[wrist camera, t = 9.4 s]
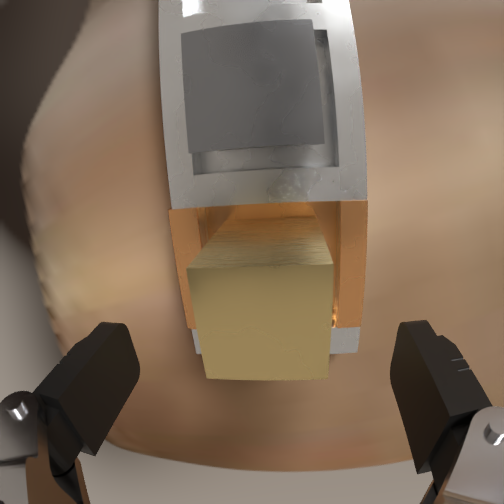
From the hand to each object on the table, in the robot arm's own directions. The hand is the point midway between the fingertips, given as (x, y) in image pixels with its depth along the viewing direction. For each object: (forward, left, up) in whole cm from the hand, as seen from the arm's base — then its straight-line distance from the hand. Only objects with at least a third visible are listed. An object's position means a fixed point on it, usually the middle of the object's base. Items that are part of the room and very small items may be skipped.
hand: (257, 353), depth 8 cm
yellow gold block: (0, 0, -8) cm, 8 cm away
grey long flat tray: (-8, 0, -9) cm, 12 cm away
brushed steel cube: (-8, 0, -8) cm, 11 cm away
